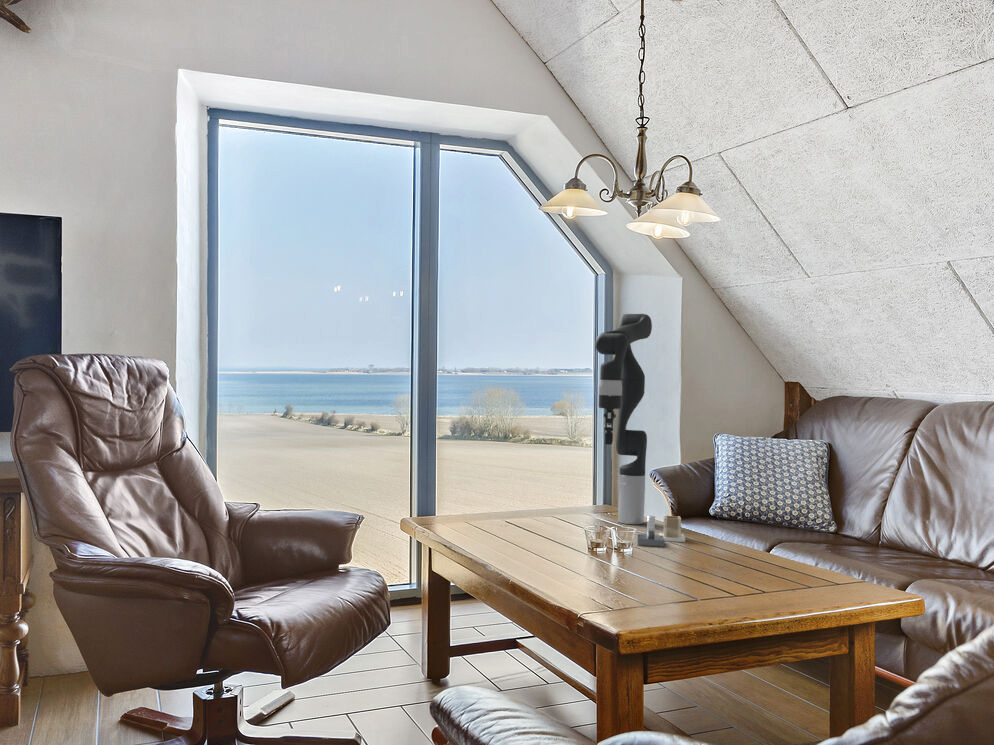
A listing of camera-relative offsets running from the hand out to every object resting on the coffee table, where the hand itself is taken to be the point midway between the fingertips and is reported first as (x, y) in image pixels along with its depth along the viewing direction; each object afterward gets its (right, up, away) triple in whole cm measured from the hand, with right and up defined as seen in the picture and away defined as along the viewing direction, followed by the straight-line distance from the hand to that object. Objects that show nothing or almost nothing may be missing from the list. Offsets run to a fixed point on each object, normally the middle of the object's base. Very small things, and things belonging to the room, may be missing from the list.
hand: (609, 443), depth 270 cm
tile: (+20, -31, -3) cm, 37 cm away
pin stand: (+11, -30, -12) cm, 35 cm away
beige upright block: (+20, -30, -3) cm, 36 cm away
